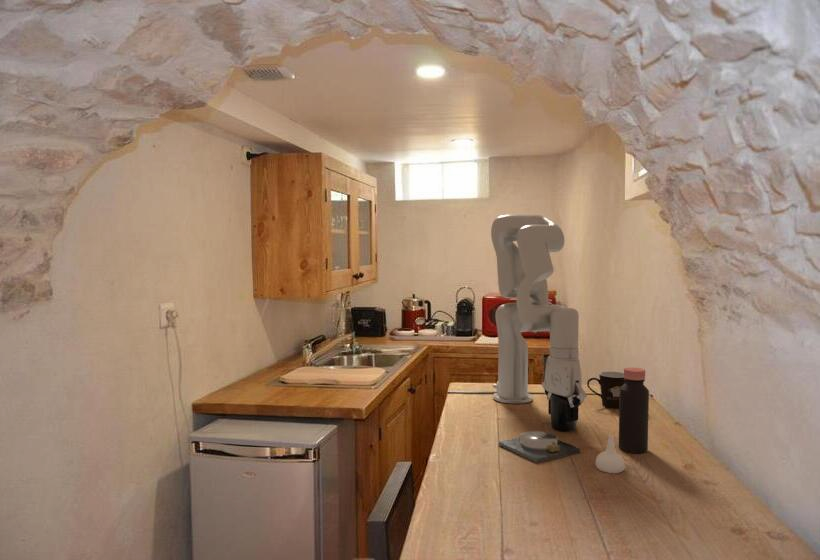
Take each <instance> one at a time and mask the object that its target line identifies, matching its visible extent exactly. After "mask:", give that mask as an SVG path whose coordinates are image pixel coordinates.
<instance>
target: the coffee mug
mask: <svg viewBox="0 0 820 560" xmlns="http://www.w3.org/2000/svg"><path fill="white" fill-rule="evenodd" d="M598 374H599V378H597V377H591V378H589V379H588V380H587V382H586V385H587V388H588V389H589V390H590V391H591V392H592V393H593V394H595V395H597V396H598V397H599V398H601V404H602V407H604V406H605V408H606V407H608V408H607V409H615V410H619V397H620V388H621V386H623V385H624V384H625V380H624V372H621V371H600V372H599V373H598ZM591 381H597V382H598V384H599V386H600V393H601V394H600V393H599V392H597V391H595V390H593V389H592V388H591V387H590V382H591Z"/></svg>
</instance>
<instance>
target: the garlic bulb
mask: <svg viewBox="0 0 820 560" xmlns="http://www.w3.org/2000/svg"><path fill="white" fill-rule="evenodd" d="M594 463H595V466H596V468H597V469H598V471H601V472H603V473H607V474H619V473H621V472H623V471H624V470H625V466H626V462H625V460H624V458H623V456H622V455H620V454H619V453H618V452H617V450H616V444H615V436H614V434H613V435H612V434H608V440H607V445H606V448H605V451H602V452H600V453H599V454H597V456H596V458H595V462H594Z"/></svg>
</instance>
